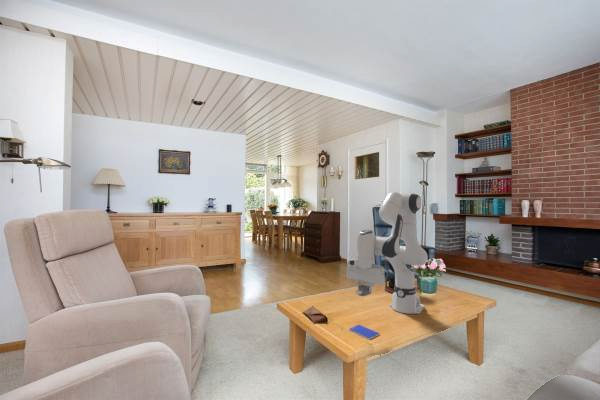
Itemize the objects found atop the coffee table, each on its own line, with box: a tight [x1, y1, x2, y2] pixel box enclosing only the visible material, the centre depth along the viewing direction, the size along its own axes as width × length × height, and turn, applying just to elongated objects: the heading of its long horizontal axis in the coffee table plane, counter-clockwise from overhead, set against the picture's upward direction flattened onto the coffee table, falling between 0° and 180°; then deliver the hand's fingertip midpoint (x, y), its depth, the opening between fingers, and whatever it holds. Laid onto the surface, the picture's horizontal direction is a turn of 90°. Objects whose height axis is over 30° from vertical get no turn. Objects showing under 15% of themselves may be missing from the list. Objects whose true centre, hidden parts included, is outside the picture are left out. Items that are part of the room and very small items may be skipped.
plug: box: [354, 283, 373, 297], centre depth 142 cm, size 11×4×4 cm, turn 136°
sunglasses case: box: [302, 305, 329, 325], centre depth 161 cm, size 18×7×7 cm
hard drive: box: [348, 324, 380, 340], centre depth 143 cm, size 2×8×12 cm
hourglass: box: [384, 256, 408, 295], centre depth 213 cm, size 16×16×25 cm
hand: (364, 290), depth 143 cm, fingers closed on plug, 4 cm apart
